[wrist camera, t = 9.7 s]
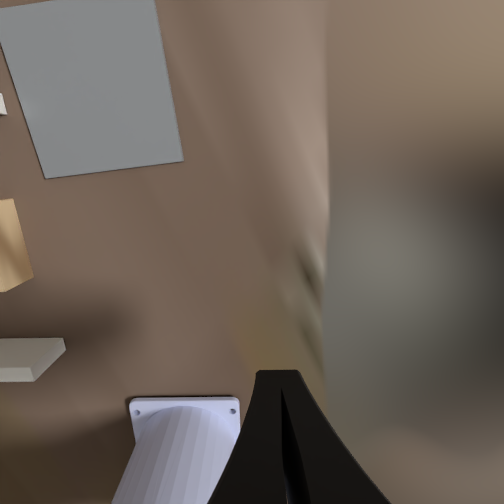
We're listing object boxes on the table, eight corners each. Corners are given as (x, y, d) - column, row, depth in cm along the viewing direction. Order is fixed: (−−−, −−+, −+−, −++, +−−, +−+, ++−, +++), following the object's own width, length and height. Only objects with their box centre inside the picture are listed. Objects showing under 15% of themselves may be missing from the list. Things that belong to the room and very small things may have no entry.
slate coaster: (186, 161, 17) (183, 160, 16) (54, 177, 17) (45, 178, 16) (156, -5, 14) (150, -15, 13) (3, 17, 15) (-11, 10, 14)
